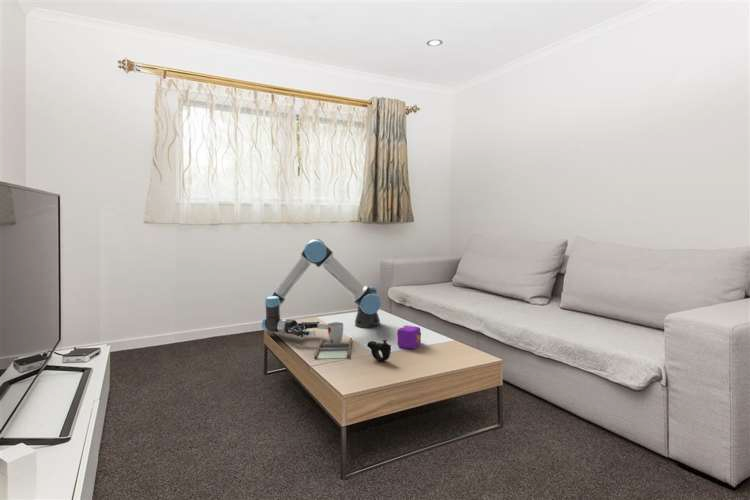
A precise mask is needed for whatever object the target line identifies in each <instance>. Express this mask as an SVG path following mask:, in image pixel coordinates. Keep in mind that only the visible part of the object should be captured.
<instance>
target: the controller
mask: <svg viewBox="0 0 750 500" xmlns="http://www.w3.org/2000/svg"><path fill="white" fill-rule="evenodd" d="M366 347H367V348H369V349H370V350H371V355H372V357H373V358H374V360H375V361H377V362H381V363H382V362H385V361H387V360H388V359H389V358H390V356H391V353H392V352H391V350H392V349H391V347H392V345H391V344H389V343H388V340H387V339H382V342H377V341H374V340H371V341H368V342H367V345H366ZM380 353H381V354H382V356H381V354H380Z"/></svg>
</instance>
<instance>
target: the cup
mask: <svg viewBox="0 0 750 500" xmlns="http://www.w3.org/2000/svg"><path fill="white" fill-rule="evenodd" d="M327 333H328V339H329V342H330V343H342V340H343V334H344V323H343V322H339V321H338V322H336V321H335V322H329V323H328V329H327Z"/></svg>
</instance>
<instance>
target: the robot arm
mask: <svg viewBox="0 0 750 500" xmlns="http://www.w3.org/2000/svg"><path fill="white" fill-rule="evenodd" d="M312 265H315V266H316V267H317V268H322V269H323V270H324V271H326V273H327V274H329V276H331V277H332V278H333V279H334V281H335V282H337V283H338V284H339V285H340V286H341V287H342V288H343V289H344V290H345V291H346V292H347V293H348V294H349V295H350V296H352V301H353V302H354V303H355V304H356V305H357V307H356V308H357V311H356V316H355V319H354V326H356V327H359V328H365V329H367V328H376V327H378V326H380V325H381V319H380V316H379V314H378V311H379V310H380V309H381V307H382V303H381V302H382V301H381V298H380V297H379V295H378V294H377V292H378V289H377V287H376V286H369V285H364V284H362V283H361V282H360V280H358V279H357V278H356V277H355V276H354V275H353V274H352V273H351V272H350V271H349V270H348V269H347V268H346V267H345V266H344V265H343V264H342V263H341V262H340V261H338V259H337V258H335V257H334V252H333V251H332V250H331V249H330V248H329V247H328V246H327V245H326V243H324V241H323V240H322V239H319V238H312V239H310V240H308V241H307V243H306V244H305V246H304V249H303V251H302V252H300V257H299V259H298V260H297V261H296V263H295V264H294V265H293V266H292V268H291V269H290V271H289V272H288V273H287V275H286V276H285V277H284V278H283V280H282V281H281V283H280V284H279V285H278V286H277V288H276V290H274V292H273V293H272V295H270V296H267V297H265V303H264V304H265V317H264V318H263V319H262V320H261V327H262V330H263V331H265V332H270V333H279V334H280V333H281V334H283V335H285V334H287V335H294V336H296V337H301V338H303V337H304V336H306V337H313V338H314V337H316V330H310V329H319V330H328V324H329V323H328V324H327V323H321V322H320V321H309V322H305V321H302V322H298V321H297V320H295V319H285V318H281V307H282V304H283V303H284V302H285V300H286V299H287V298H288V297H289V296H290V294H291V292H292V291H293V290H294V288H295V287H297V285H298V283H299V282H300V280H301V279H302V278H303V277H304V275H305V274H306V273H307V271H309V269H310V267H311V266H312Z"/></svg>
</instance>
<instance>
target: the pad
mask: <svg viewBox="0 0 750 500" xmlns="http://www.w3.org/2000/svg"><path fill="white" fill-rule="evenodd" d="M327 359H328V360H330V359H331V360H332V359H334V360H335V359H348V358H347V351H319V354H318V357H317V359H316V360H327Z"/></svg>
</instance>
